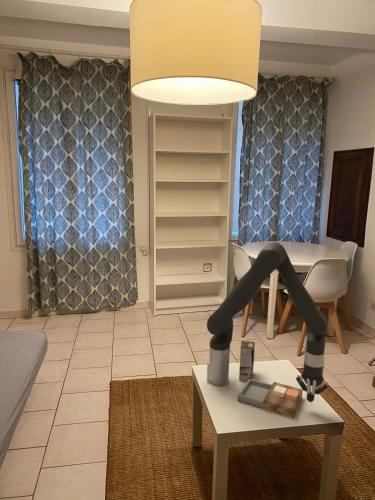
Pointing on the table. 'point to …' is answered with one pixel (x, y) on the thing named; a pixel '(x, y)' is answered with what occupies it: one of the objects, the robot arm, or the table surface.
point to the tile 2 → (292, 394)
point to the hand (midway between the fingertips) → (310, 401)
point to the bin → (254, 393)
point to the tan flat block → (281, 401)
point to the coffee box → (246, 360)
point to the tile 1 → (280, 391)
